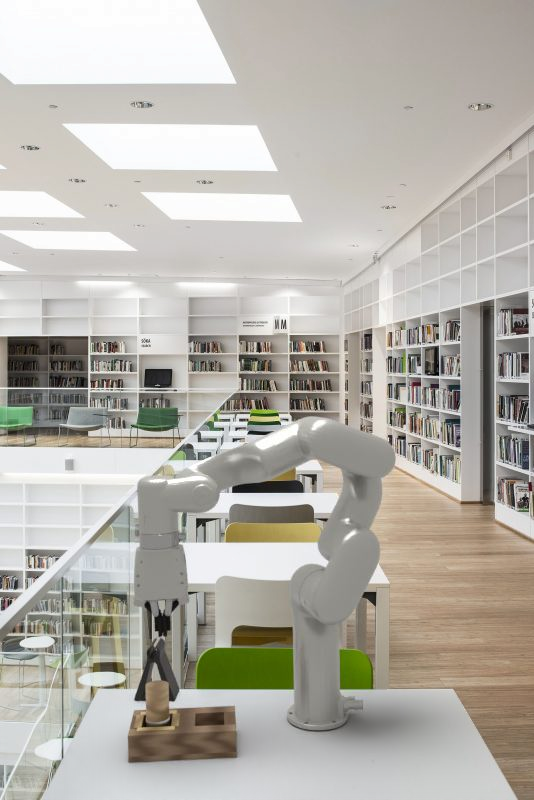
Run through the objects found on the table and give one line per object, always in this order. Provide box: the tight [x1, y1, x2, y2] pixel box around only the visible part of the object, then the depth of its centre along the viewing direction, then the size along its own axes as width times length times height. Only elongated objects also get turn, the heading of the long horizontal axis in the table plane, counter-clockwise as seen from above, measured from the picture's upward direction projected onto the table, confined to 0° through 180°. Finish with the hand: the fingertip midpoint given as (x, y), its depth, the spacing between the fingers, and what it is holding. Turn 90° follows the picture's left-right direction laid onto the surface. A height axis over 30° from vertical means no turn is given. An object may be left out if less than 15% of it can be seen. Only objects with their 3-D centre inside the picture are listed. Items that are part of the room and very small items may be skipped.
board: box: [127, 705, 238, 763], centre depth 151 cm, size 20×11×5 cm, turn 94°
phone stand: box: [133, 637, 180, 702], centre depth 175 cm, size 9×6×12 cm, turn 86°
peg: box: [145, 679, 170, 727], centre depth 151 cm, size 4×4×11 cm
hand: (163, 634), depth 152 cm, fingers closed
